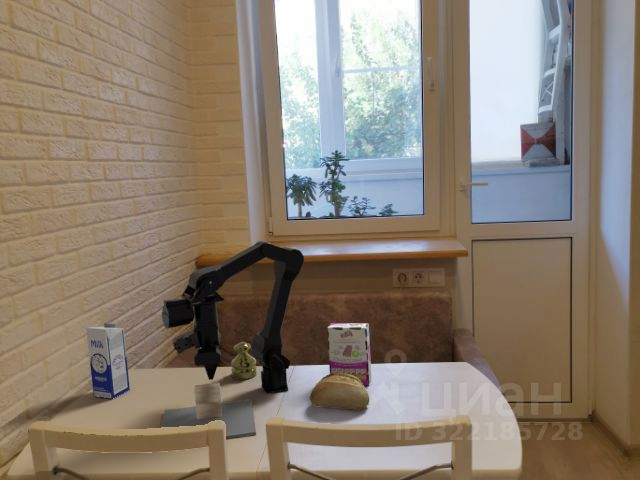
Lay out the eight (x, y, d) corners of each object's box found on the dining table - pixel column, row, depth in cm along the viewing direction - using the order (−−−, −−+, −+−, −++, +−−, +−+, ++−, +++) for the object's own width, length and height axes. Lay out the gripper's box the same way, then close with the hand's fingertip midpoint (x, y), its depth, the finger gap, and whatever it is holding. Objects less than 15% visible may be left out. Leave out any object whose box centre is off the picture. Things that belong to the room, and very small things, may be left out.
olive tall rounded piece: (261, 371, 158) (258, 339, 157) (249, 381, 151) (247, 347, 150) (239, 369, 161) (236, 338, 159) (227, 379, 154) (224, 346, 152)
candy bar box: (371, 378, 149) (369, 322, 147) (369, 386, 144) (367, 328, 142) (333, 377, 151) (330, 321, 149) (329, 384, 146) (326, 327, 144)
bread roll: (313, 397, 139) (312, 368, 138) (370, 398, 136) (369, 369, 135) (307, 414, 129) (305, 383, 128) (368, 415, 127) (367, 384, 126)
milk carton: (93, 396, 146) (85, 326, 143) (111, 387, 152) (104, 319, 149) (113, 399, 143) (105, 328, 141) (130, 389, 149) (123, 321, 147)
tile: (222, 413, 130) (219, 382, 129) (222, 416, 129) (219, 385, 128) (197, 416, 129) (194, 385, 128) (197, 419, 128) (194, 388, 127)
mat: (251, 401, 138) (251, 399, 138) (256, 434, 120) (256, 432, 120) (164, 412, 134) (164, 410, 134) (156, 448, 116) (156, 445, 116)
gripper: (176, 313, 141) (181, 369, 143) (169, 334, 122) (175, 398, 125) (218, 309, 143) (223, 365, 145) (218, 329, 124) (223, 392, 126)
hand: (211, 379), depth 135 cm, fingers closed
